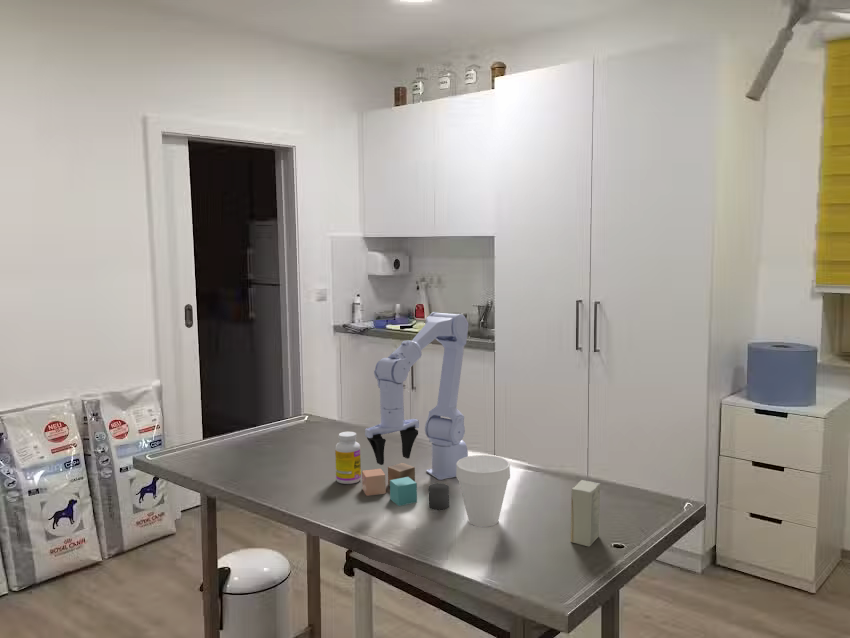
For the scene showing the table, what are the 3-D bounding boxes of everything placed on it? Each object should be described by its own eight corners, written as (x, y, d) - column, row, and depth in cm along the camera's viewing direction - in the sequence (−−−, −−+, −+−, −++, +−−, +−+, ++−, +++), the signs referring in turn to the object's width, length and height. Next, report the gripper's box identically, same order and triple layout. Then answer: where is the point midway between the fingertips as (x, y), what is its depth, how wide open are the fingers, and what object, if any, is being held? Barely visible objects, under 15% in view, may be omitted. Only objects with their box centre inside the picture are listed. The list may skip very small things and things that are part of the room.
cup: (495, 536, 158) (495, 476, 156) (446, 524, 164) (446, 466, 162) (519, 516, 168) (519, 459, 166) (472, 506, 174) (472, 451, 173)
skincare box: (580, 532, 159) (581, 478, 157) (600, 536, 157) (601, 482, 155) (569, 542, 154) (570, 488, 152) (589, 547, 151) (590, 491, 150)
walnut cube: (402, 480, 193) (402, 462, 192) (415, 485, 189) (414, 467, 189) (388, 485, 190) (387, 467, 189) (400, 490, 186) (399, 471, 185)
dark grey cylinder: (443, 501, 178) (443, 481, 178) (453, 508, 174) (452, 488, 173) (425, 504, 176) (424, 485, 175) (434, 512, 172) (434, 491, 171)
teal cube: (408, 495, 182) (408, 476, 182) (417, 502, 178) (416, 482, 177) (390, 499, 180) (389, 480, 179) (398, 506, 176) (398, 486, 175)
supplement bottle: (357, 485, 190) (355, 438, 188) (332, 484, 191) (331, 437, 189) (364, 476, 196) (362, 430, 195) (340, 475, 198) (339, 429, 196)
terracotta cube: (381, 487, 189) (380, 468, 188) (385, 493, 184) (385, 474, 183) (362, 489, 187) (361, 470, 187) (366, 496, 183) (365, 477, 182)
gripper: (407, 399, 184) (408, 450, 186) (358, 408, 176) (359, 462, 178) (423, 404, 179) (424, 457, 180) (373, 414, 170) (374, 469, 172)
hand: (393, 460), depth 179 cm, fingers open, 7 cm apart
